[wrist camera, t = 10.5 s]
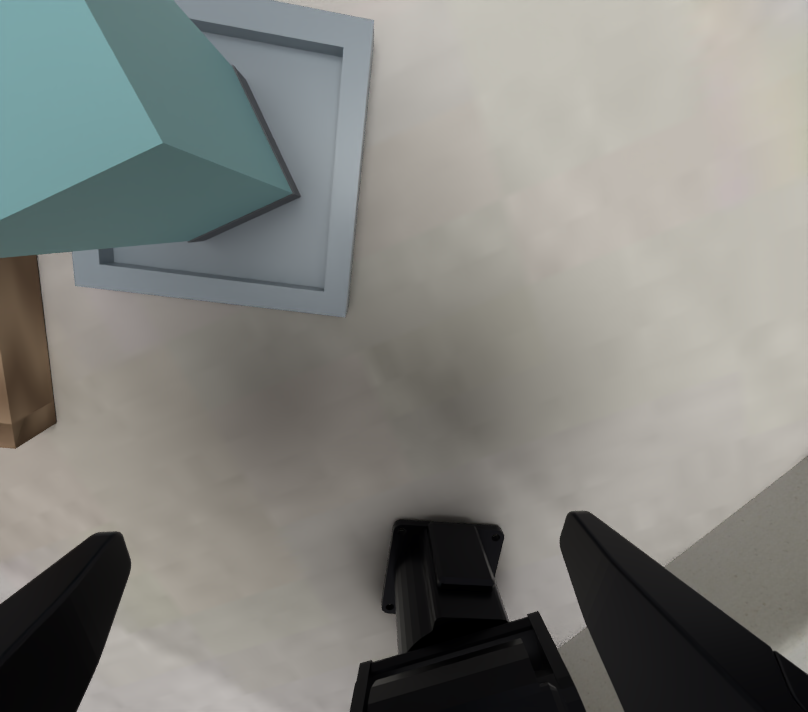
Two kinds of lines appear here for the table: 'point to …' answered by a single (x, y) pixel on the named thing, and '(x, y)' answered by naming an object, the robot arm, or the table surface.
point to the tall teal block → (125, 130)
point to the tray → (303, 154)
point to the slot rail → (23, 354)
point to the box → (734, 582)
